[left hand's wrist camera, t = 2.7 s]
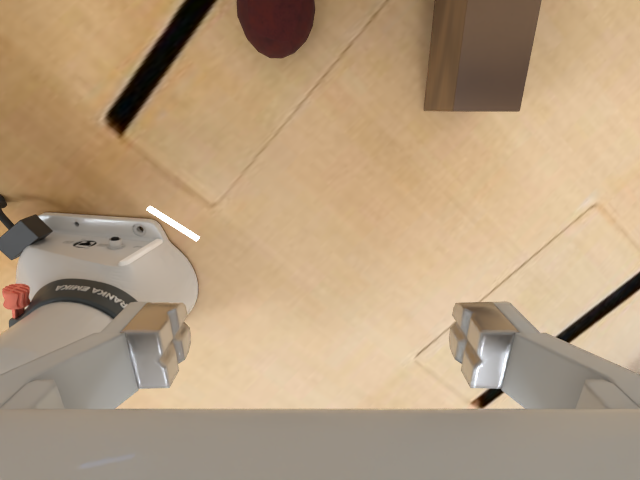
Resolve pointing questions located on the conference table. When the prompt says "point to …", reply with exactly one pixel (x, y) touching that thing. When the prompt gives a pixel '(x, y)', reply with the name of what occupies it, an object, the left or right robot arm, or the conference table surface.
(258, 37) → the dark red rounded ball
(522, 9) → the box
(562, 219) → the conference table surface
